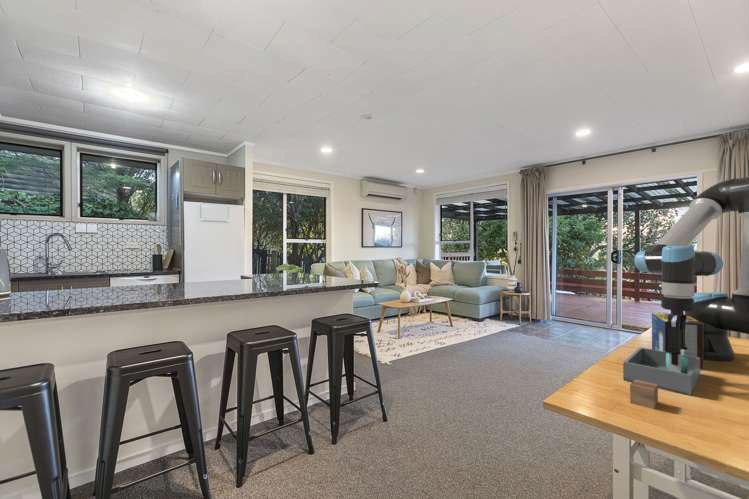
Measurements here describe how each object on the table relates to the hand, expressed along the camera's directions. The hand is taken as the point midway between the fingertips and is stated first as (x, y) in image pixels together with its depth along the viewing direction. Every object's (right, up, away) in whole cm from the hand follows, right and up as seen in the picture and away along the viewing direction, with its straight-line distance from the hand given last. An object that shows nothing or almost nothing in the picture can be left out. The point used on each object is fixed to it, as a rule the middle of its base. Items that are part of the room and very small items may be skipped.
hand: (676, 372), depth 107 cm
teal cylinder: (0, -2, 0) cm, 2 cm away
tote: (-2, -3, +3) cm, 4 cm away
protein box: (+15, -2, +18) cm, 24 cm away
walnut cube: (-21, -3, -14) cm, 25 cm away
